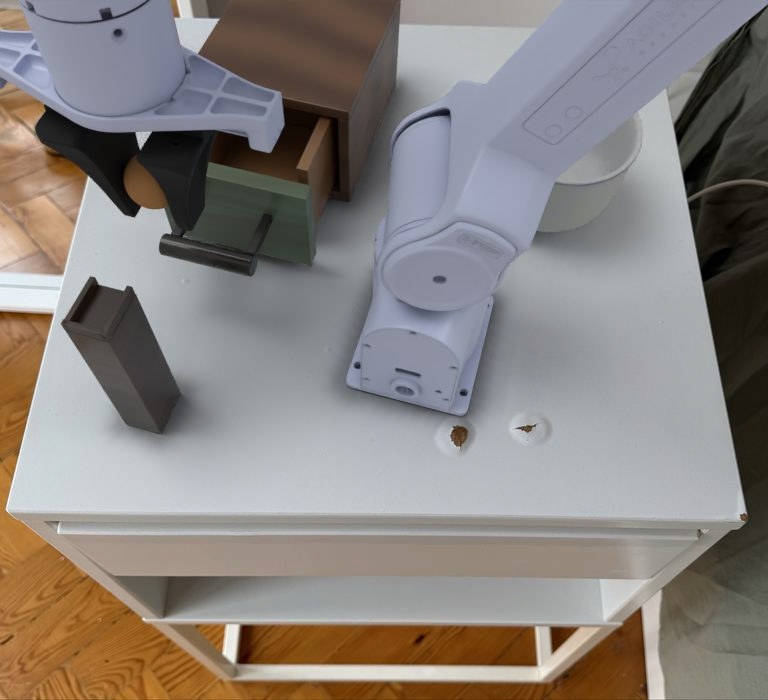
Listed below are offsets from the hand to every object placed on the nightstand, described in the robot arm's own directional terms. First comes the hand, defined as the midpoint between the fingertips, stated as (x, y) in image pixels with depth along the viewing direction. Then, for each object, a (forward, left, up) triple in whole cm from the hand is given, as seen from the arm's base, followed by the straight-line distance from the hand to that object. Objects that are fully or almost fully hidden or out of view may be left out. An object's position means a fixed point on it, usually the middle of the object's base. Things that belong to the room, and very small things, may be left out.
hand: (165, 210), depth 40 cm
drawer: (+9, -1, -10) cm, 13 cm away
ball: (0, 0, +2) cm, 3 cm away
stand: (-7, 0, -10) cm, 13 cm away
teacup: (+17, -19, -11) cm, 28 cm away
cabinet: (+19, -1, -10) cm, 22 cm away
